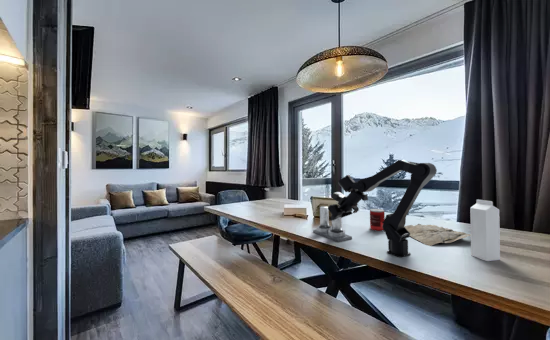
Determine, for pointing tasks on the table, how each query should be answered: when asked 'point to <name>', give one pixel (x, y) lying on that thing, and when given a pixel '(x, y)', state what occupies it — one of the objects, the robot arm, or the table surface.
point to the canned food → (377, 219)
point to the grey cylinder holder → (329, 227)
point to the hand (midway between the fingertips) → (334, 219)
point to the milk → (485, 231)
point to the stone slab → (434, 234)
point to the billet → (336, 225)
